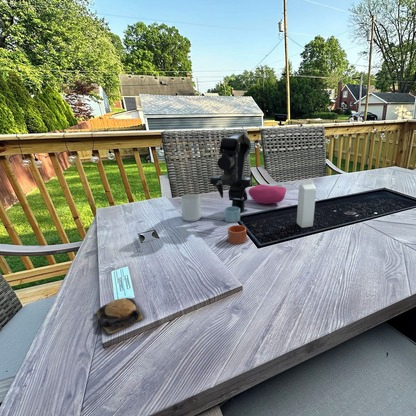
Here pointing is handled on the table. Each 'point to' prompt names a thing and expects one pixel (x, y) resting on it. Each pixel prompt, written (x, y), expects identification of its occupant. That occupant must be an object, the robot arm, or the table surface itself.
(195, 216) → the mug
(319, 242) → the table surface
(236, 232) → the cup
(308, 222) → the milk
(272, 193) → the pink bowl shaped lump
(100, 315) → the brown and black burger
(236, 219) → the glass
